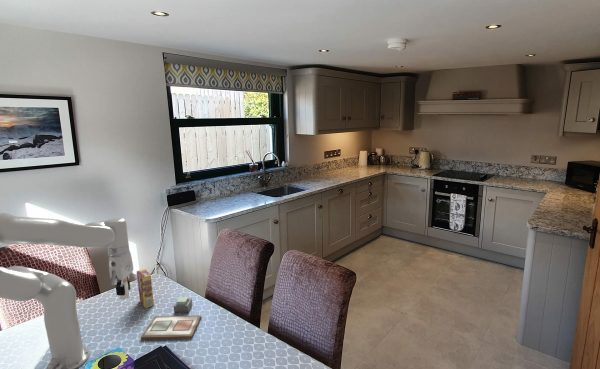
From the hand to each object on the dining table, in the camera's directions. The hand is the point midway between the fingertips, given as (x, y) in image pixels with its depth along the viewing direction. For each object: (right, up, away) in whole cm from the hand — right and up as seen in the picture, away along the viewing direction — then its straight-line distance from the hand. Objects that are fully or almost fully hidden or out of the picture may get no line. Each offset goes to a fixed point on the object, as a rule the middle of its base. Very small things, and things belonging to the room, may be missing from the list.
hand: (123, 291), depth 141 cm
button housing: (+19, -13, +17) cm, 28 cm away
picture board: (+19, -16, +3) cm, 25 cm away
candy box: (0, -12, +23) cm, 26 cm away
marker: (0, -2, 0) cm, 2 cm away
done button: (+19, -11, +16) cm, 27 cm away
